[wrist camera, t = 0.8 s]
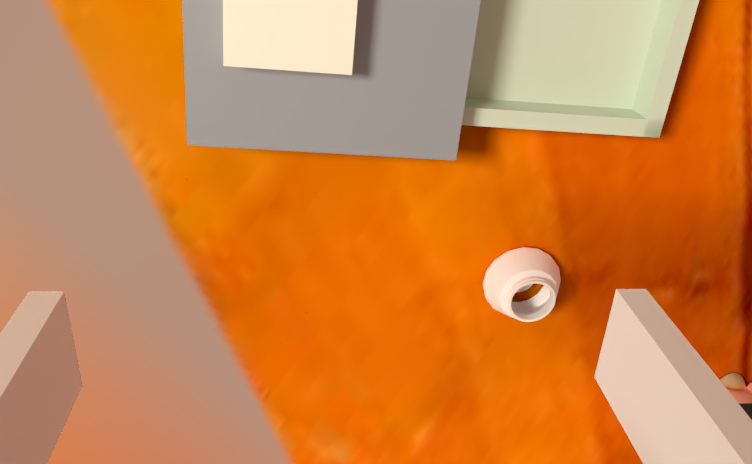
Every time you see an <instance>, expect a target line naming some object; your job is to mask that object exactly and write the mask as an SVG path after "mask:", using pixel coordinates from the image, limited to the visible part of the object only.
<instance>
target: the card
mask: <svg viewBox="0 0 752 464" xmlns="http://www.w3.org/2000/svg"><path fill="white" fill-rule="evenodd" d="M357 4H358V0H223V66H231V67H245V68H259V69H273V70H287V71H301V72H315V73H329V74H343V75H352V68H353V55H354V42H355V29H356V16H357Z"/></svg>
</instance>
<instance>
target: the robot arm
mask: <svg viewBox="0 0 752 464" xmlns="http://www.w3.org/2000/svg"><path fill="white" fill-rule="evenodd" d="M595 379H596V381H597V382H598V384H599V386H600V388H601V390H602V391H603V393H604V395H605V397H606V398H607V400H608V402H609V404H610V406H611V407H612V409H613V411H614V413H615V414H616V416H617V418H618V420H619V422H620V423H621V425H622V427H623V429H624V430H625V432H626V434H627V436H628V438H629V439H630V441H631V443H632V445H633V446H634V448H635V450H636V452H637V454H638V455H639V457H640V459H641V461H642V462H643V464H752V403H740V404H739V403H738V402H737V401H736V400H735V399H734V397H733V396H732V395H731V394H730V392H729V391H728V390H727V389H726V387H725V386H724V385H723V384H722V382H721V381H720V380H719V379H718V377H717V376H716V375H715V374H714V373H713V371H712V370H711V369H710V368H709V366H708V365H707V364H706V363H705V361H704V360H703V359H702V358H701V356H700V355H699V354H698V353H697V351H696V350H695V349H694V348H693V347H692V345H691V344H690V343H689V342H688V340H687V339H686V338H685V337H684V335H683V334H682V333H681V332H680V330H679V329H678V328H677V327H676V325H675V324H674V323H673V322H672V321H671V319H670V318H669V317H668V316H667V314H666V313H665V312H664V311H663V309H662V308H661V307H660V306H659V304H658V303H657V302H656V301H655V299H654V298H653V297H652V296H651V295H650V293H649V292H648V291H647V290H646V289H616V292H615V296H614V300H613V304H612V308H611V312H610V316H609V320H608V324H607V328H606V332H605V336H604V340H603V344H602V348H601V352H600V356H599V361H598V365H597V369H596V373H595ZM81 387H82V381H81V376H80V371H79V366H78V360H77V355H76V350H75V345H74V340H73V335H72V330H71V324H70V320H69V314H68V309H67V304H66V298H65V294H64V291H29V292H28V294H27V295H26V297H25V298H24V300H23V301H22V303H21V304H20V305H19V307H18V308H17V310H16V311H15V313H14V314H13V316H12V317H11V319H10V320H9V322H8V323H7V325H6V326H5V328H4V329H3V330H2V332H1V333H0V464H47V463H48V460H49V458H50V456H51V454H52V451H53V449H54V447H55V445H56V443H57V440H58V438H59V436H60V434H61V432H62V429H63V427H64V425H65V423H66V421H67V418H68V416H69V414H70V412H71V410H72V407H73V405H74V403H75V401H76V398H77V396H78V394H79V392H80V390H81Z"/></svg>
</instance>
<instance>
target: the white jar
mask: <svg viewBox="0 0 752 464" xmlns="http://www.w3.org/2000/svg"><path fill="white" fill-rule="evenodd" d="M560 282H561V278H560V271H559V267H558V266H557V264H556V263H555V261H554V260H553V258H552V257H551V256H550V255H549V254H547V253H545V252H544V251H542V250H540V249H538V248H529V247H521V248H517V249H513V250H509V251H507V252H506V253H504V254H502V255H501V256H499V257H498V258H496V259H495V260H494V261H493V263H492V264H491V265H490V267H489V268H488V269H487V271H486V274H485V277H484V281H483V288H484V293H485V297H486V300H487V301H488V302H489V303H490V305H491V306H492V307H493V308H494V309H495V310H497V311H499V312H501V313H503V314H505V315H507V316H509V317H512V318H514V319H517V320H520V321H524V322H533V321H537V320H540V319H542V318H544V317H545V316H547V315H548V314H549V313H550V312H551V310H552V309H553V307H554V305H555V302H556V297H557V294H558V290H559V286H560ZM533 284H542V285H544V287H543V288H542V289H541V290H540V291H539V293H538V294H537V295H535V296H533V297H532V298H530V299H529V300H525V301H521V302H511V301H512V298H513V296H514V294H515V293H516V292H523V291H525V290H527V289H529V288H530V287H531V286H532V285H533Z"/></svg>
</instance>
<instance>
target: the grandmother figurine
mask: <svg viewBox="0 0 752 464" xmlns="http://www.w3.org/2000/svg"><path fill="white" fill-rule="evenodd" d="M720 381H721V382H722V384H723V385H724V386H725V387H726V389H727V390H728V391H729V392H730V394H731V395H732V396H733V397H734V399H735V400H736V401H737V402H738V403H739V404H740V403H752V382H751V383H749V385H748V386H747V387H746V384H745V381H744V379H743V377H742V376H741V375H740V374H738V373H730V374H727V375H725V376H724V377H722V378H721V379H720Z"/></svg>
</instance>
